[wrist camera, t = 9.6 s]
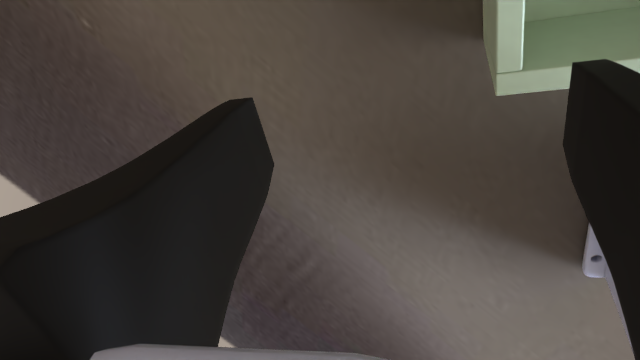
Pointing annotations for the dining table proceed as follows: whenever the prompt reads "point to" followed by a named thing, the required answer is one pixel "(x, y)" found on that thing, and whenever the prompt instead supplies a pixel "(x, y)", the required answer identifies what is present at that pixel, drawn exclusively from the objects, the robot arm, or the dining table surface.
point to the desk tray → (556, 40)
